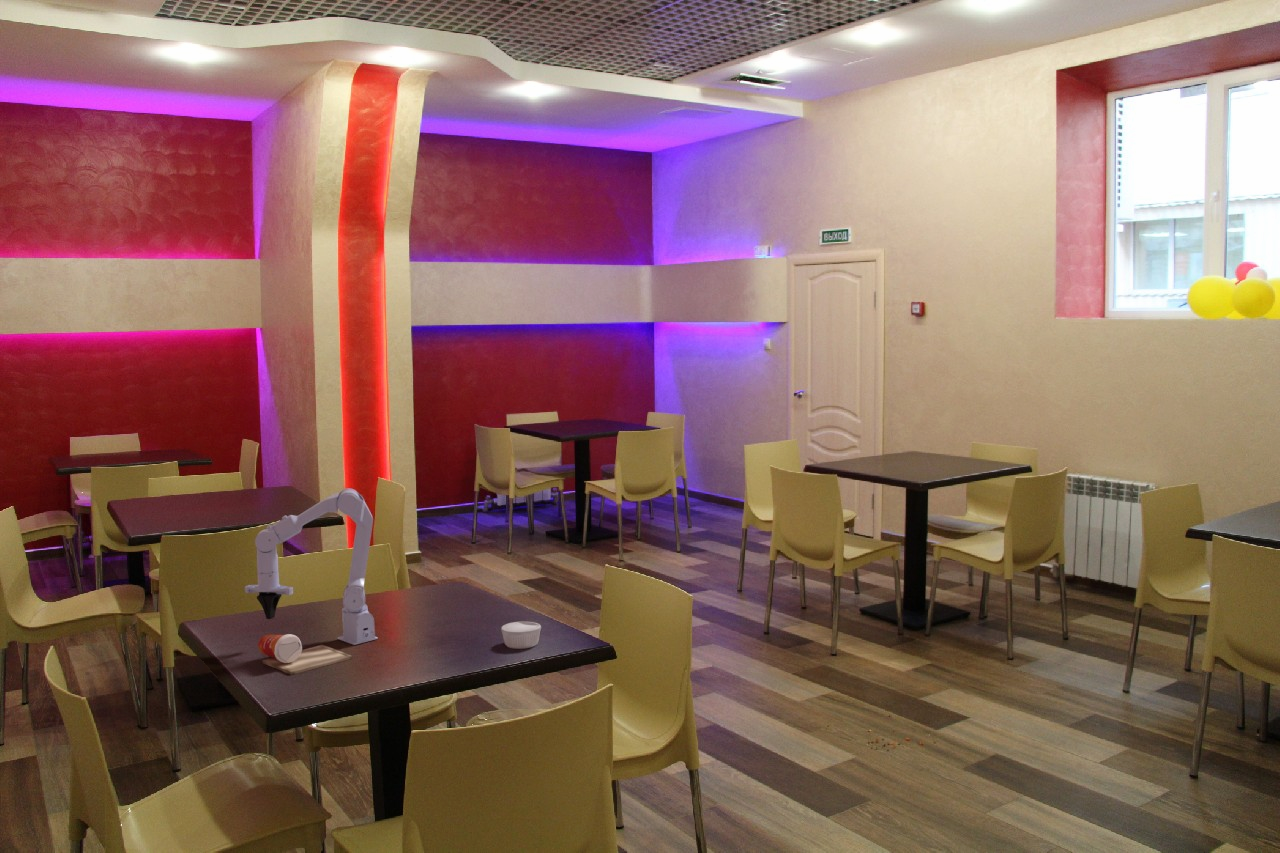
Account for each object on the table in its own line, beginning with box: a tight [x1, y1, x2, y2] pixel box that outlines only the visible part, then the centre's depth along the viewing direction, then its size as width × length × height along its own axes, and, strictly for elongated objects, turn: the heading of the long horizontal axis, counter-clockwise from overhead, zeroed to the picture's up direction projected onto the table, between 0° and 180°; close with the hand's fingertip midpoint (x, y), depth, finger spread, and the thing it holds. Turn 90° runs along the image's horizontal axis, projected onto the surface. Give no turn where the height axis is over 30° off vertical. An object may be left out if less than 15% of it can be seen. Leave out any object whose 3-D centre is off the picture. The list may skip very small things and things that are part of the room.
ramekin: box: [500, 621, 542, 650], centre depth 299 cm, size 11×11×5 cm
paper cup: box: [257, 633, 303, 663], centre depth 287 cm, size 8×8×14 cm
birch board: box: [262, 644, 353, 676], centre depth 288 cm, size 16×18×1 cm
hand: (270, 618), depth 301 cm, fingers closed
